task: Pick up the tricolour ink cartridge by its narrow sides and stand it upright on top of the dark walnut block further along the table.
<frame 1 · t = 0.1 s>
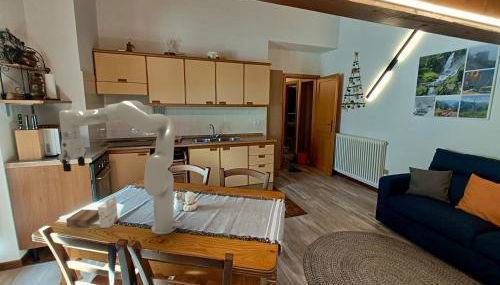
hand: (74, 168, 118), 31 cm above the table, tool pointing down, fingers open, 9 cm apart
ink cartridge box: (109, 224, 126), on the table
walnut block: (85, 222, 127), on the table
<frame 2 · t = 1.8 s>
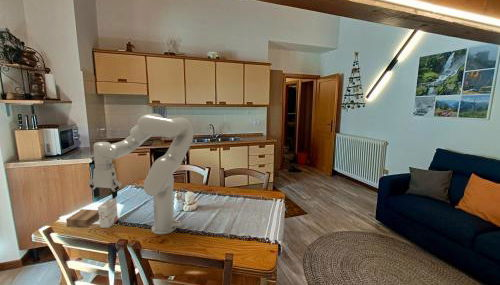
hand: (105, 197, 123), 15 cm above the table, tool pointing down, fingers open, 9 cm apart
nothing on the table moved.
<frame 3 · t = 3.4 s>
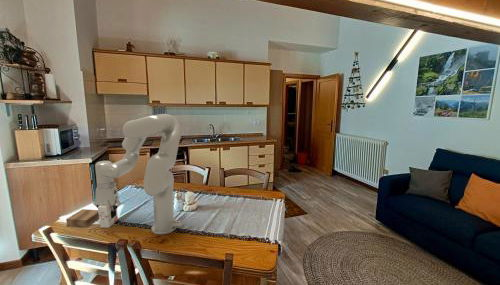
hand: (108, 216, 125), 4 cm above the table, tool pointing down, fingers closed on ink cartridge box, 5 cm apart
ink cartridge box: (109, 224, 126), on the table, touching gripper
everything else where it was.
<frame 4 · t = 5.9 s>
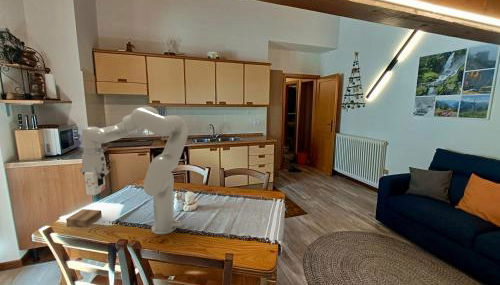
hand: (95, 184, 122), 22 cm above the table, tool pointing down, fingers closed on ink cartridge box, 5 cm apart
ink cartridge box: (96, 192, 123), point 17 cm above the table, touching gripper
everything else where it was.
when the fingers open (10 cm above the table, at t = 8.8 s): ink cartridge box drops 2 cm, resting on walnut block.
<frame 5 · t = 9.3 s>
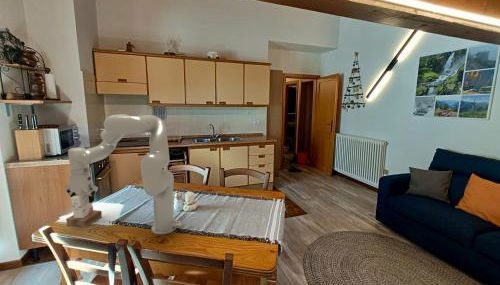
hand: (82, 201, 125), 12 cm above the table, tool pointing down, fingers open, 9 cm apart
ink cartridge box: (83, 214, 126), point 4 cm above the table, touching walnut block
walnut block: (85, 222, 127), on the table, touching ink cartridge box
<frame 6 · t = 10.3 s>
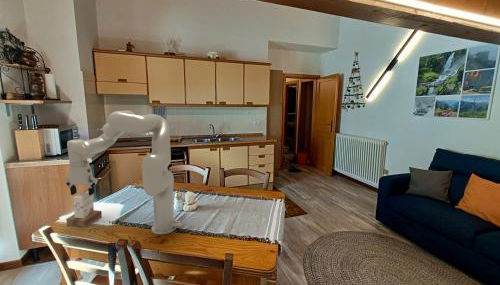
hand: (82, 194, 124), 16 cm above the table, tool pointing down, fingers open, 9 cm apart
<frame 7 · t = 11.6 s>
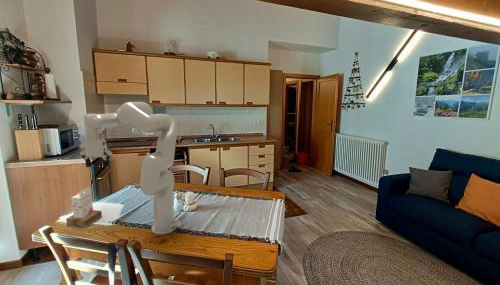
hand: (97, 166, 130), 29 cm above the table, tool pointing down, fingers open, 9 cm apart
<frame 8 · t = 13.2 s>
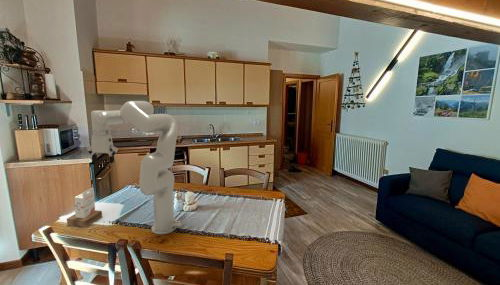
hand: (103, 162, 133), 30 cm above the table, tool pointing down, fingers open, 9 cm apart
at the end: ink cartridge box 0.3 cm off-centre on the walnut block, point 4.5 cm above the walnut block's base; ink cartridge box tilted 4°; the gripper is holding nothing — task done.
